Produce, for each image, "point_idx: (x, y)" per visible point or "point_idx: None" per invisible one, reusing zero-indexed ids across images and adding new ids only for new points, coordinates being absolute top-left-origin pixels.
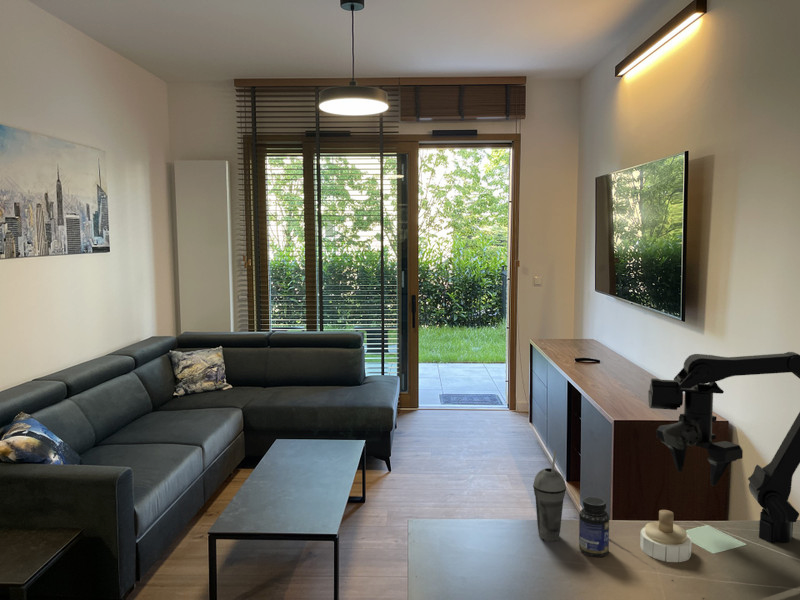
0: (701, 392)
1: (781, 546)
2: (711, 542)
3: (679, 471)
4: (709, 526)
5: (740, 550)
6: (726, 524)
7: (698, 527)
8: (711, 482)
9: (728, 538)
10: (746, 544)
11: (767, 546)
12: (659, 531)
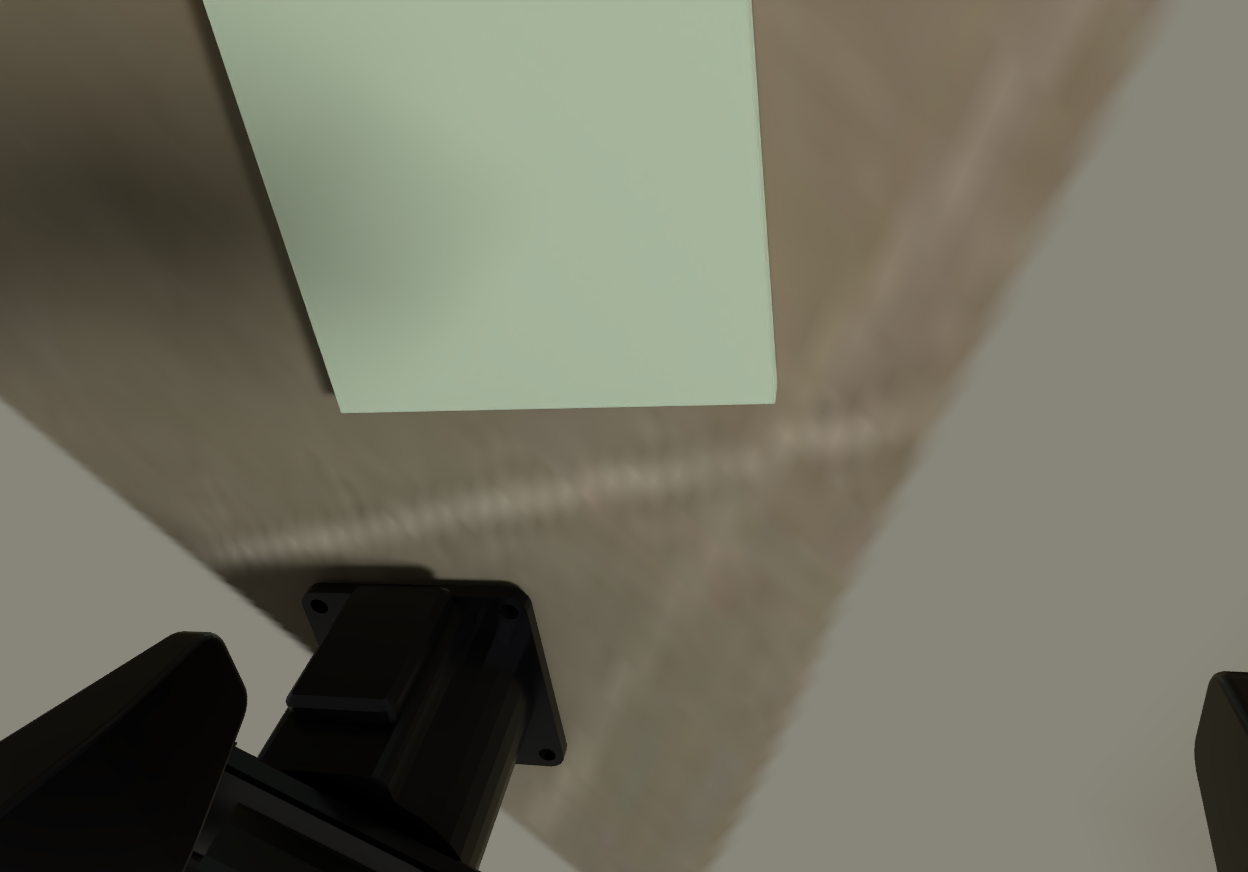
0: None
1: None
2: (416, 128)
3: (1208, 691)
4: (738, 394)
5: None
6: (778, 587)
7: (756, 270)
8: (136, 671)
9: (466, 357)
10: (341, 408)
11: (365, 549)
12: None
